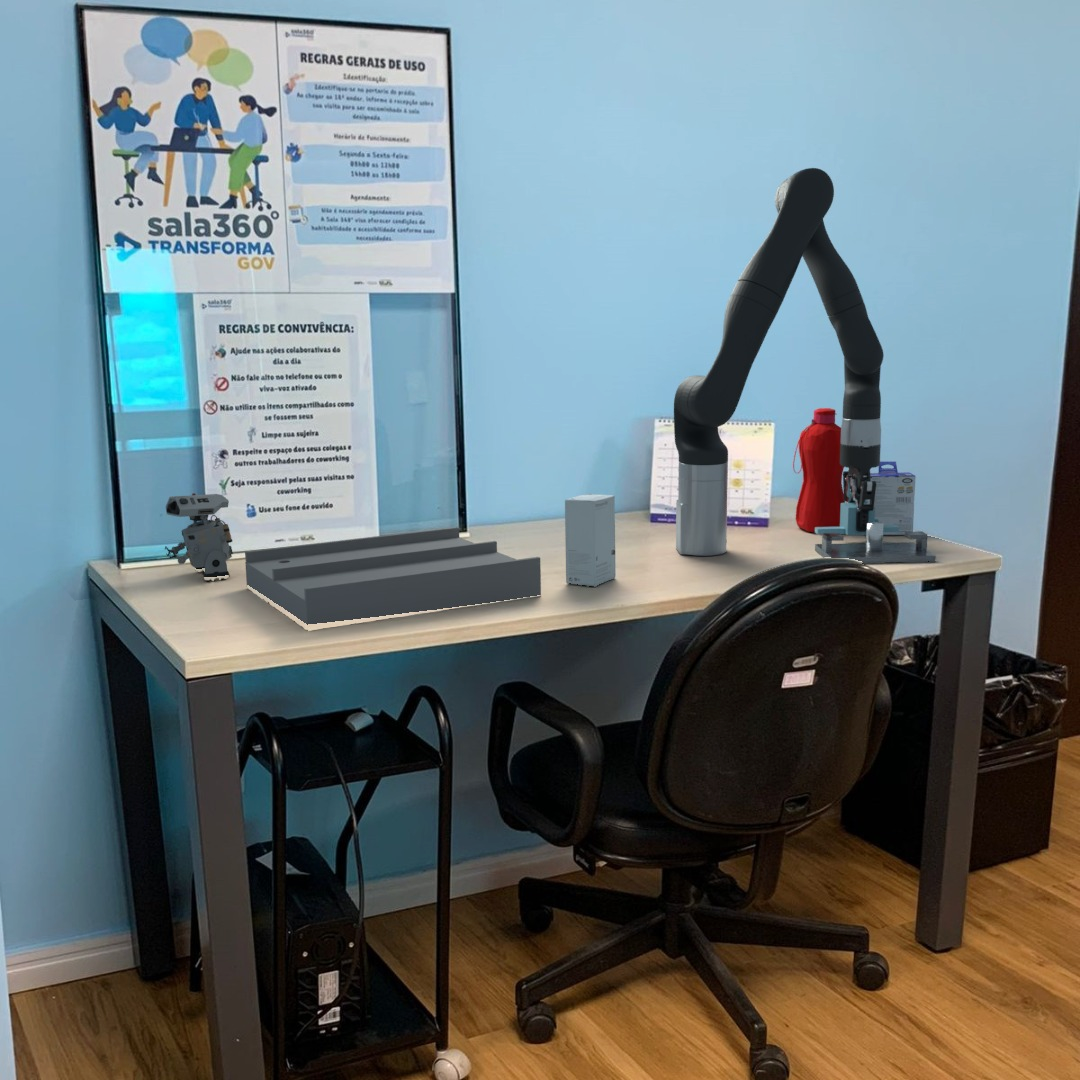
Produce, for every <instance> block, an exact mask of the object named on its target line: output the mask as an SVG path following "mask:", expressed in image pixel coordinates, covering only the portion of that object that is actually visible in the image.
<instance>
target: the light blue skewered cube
mask: <svg viewBox="0 0 1080 1080" xmlns="http://www.w3.org/2000/svg"><path fill="white" fill-rule="evenodd" d="M864 504H866V502H864ZM856 512H857V511H856V502H855V503H846V502H845V503H841V509H840V527H815V534H816V535H822V533H840V534H841V535H844V534H845V535H846V536H866V532H858V531H857V530H856ZM868 522H875V507H874V509H873V511H870V512H869V518H868ZM884 532H899V527H898V526H897V525H883V533H884Z"/></svg>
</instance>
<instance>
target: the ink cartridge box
mask: <svg viewBox="0 0 1080 1080" xmlns="http://www.w3.org/2000/svg"><path fill="white" fill-rule="evenodd" d="M886 465H888V466H892V467H893V468H889V467H887V468H883V466H886ZM870 475H871V477H872V481H876V491H875V500H874V507H875V522H881V523H883V525H897V526H898V527H899V532H884V533H883V536H901V535H902V536H905V532H914V513H915V491H916V475H915V474H913V473H912V472H906V471H905V472H899V471H898V466H897V461H880V465H879V466H878V472H873V473H871V472H870ZM864 502H866V501H864Z"/></svg>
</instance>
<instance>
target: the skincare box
mask: <svg viewBox="0 0 1080 1080" xmlns="http://www.w3.org/2000/svg"><path fill="white" fill-rule="evenodd" d="M615 497H616V496H615V495H613V494H612V495H611V494H592V493H589V494H588V493H586V494H582V495H576V496H573V497H570V498H567V499H566V498H565V500H564V519H565V521H564V525H565V531H564V532H565V534H564V535H565V583H566V584H568V583H571V584H570V585H577V584H578V586H582V585H587V586H586V587H589V586H594V587H593V588H596V587H598V586H600V585H601V583H602V584H604V583H606V582H608V581H611V580H613V579H616V520H615V519H616V518H615V516H616V515H615V513H616V512H615V511H616V508H615V506H616V504H615V501H616V500H615ZM599 584H600V585H599ZM597 585H598V586H597Z"/></svg>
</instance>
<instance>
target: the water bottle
mask: <svg viewBox="0 0 1080 1080" xmlns="http://www.w3.org/2000/svg"><path fill="white" fill-rule="evenodd" d="M810 422H811V424H809V425H808V426H806V427H805V428H804V429H803V430H802V431H801V433H800V435H799V439H798V441H797V445H796V448H795V451H794V456H793V461H792V468H793V469H792V470H793V472H794V473H795V474H800V473H801V472H802V483H801V484H802V485H801V488H800V492H799V496H798V499H797V503H796V508H795V522H796V525H797V527H798V528H800V529H802V530H804V531H806V532H808V533H815V527H840V509H841V503H846V501H844V489H843V484H842V483H843V472H844V468H845V467H843V466H841V465H840V440H841V426H840V425H838V424H836V409H833V408H830V407H829V408H828V407H825V408H824V407H821V408H820V407H819V408H817V409H814V410H813V419H811V421H810ZM797 450H798V453H799V458H800V464H801V465H800V470H799V471H798V472H796V471H795V458H796V454H797ZM815 534H816V533H815Z"/></svg>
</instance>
